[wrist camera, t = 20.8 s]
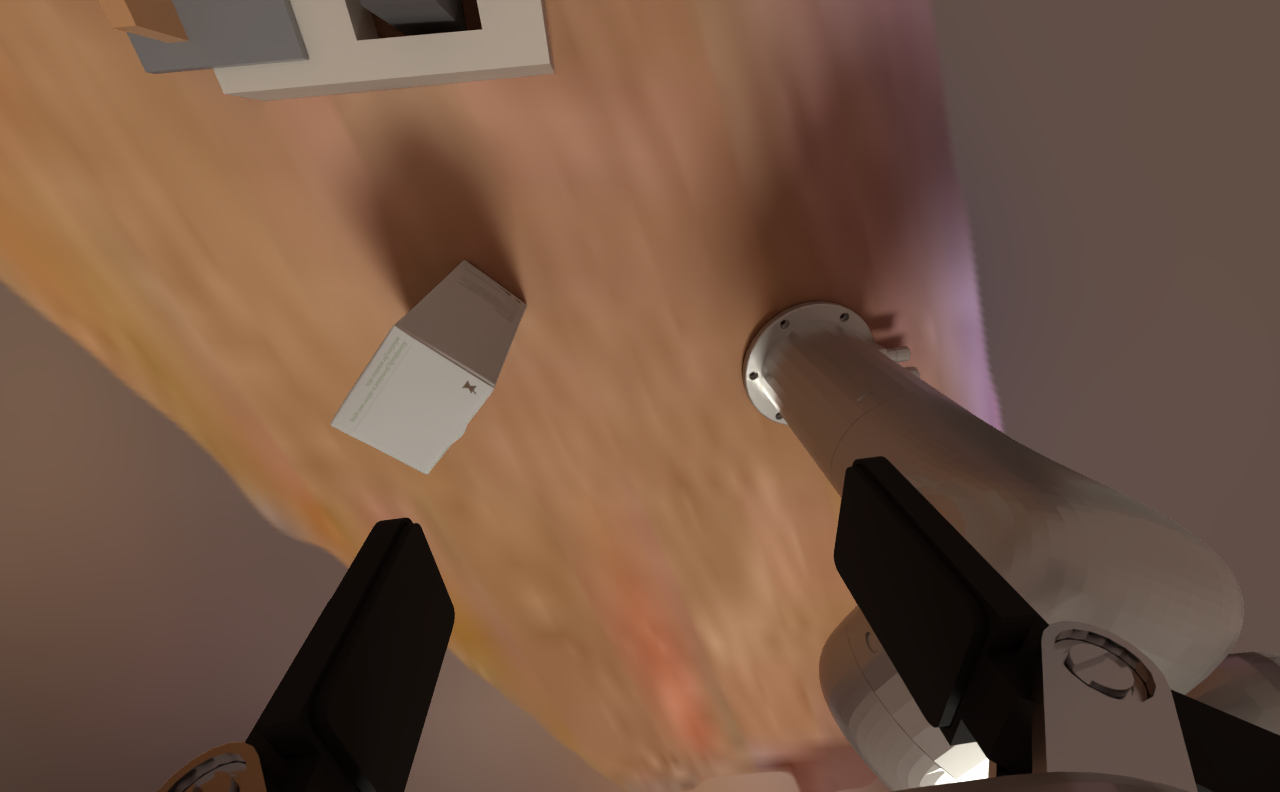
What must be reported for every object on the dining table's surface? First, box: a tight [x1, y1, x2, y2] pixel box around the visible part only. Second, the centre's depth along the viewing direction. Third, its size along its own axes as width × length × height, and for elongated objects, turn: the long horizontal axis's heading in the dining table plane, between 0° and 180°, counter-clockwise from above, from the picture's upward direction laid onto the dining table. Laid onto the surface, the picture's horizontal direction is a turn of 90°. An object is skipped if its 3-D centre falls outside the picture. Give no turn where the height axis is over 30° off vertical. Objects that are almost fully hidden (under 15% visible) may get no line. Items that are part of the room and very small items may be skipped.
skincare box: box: [331, 260, 527, 474], centre depth 33 cm, size 8×7×16 cm
